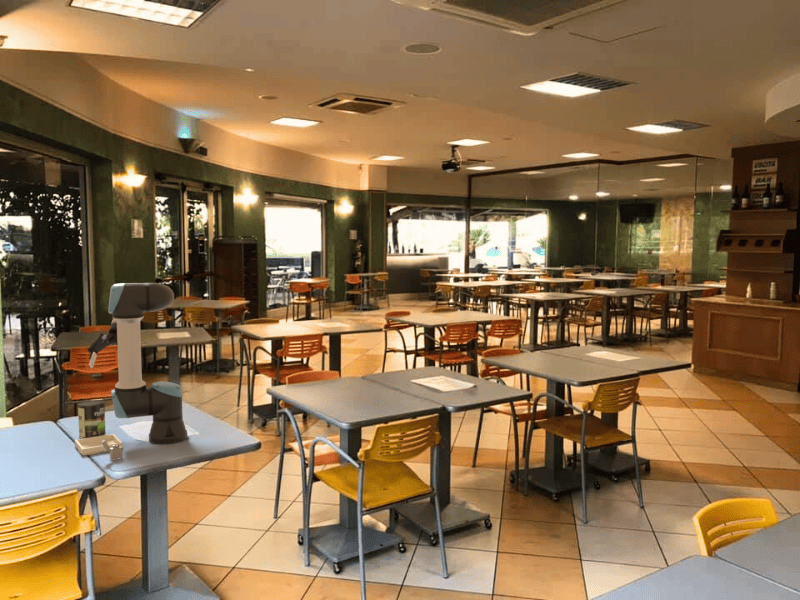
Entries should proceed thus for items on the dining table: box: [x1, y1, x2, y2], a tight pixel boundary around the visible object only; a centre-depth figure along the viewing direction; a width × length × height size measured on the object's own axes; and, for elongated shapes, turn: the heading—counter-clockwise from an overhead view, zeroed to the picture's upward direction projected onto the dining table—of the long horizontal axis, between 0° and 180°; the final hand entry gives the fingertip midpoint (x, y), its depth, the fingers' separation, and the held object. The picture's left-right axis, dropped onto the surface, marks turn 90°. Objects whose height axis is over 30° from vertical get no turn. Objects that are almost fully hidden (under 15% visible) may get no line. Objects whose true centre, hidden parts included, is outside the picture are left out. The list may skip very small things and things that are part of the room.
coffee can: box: [77, 399, 107, 439], centre depth 280 cm, size 10×10×14 cm
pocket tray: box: [74, 433, 124, 456], centre depth 264 cm, size 15×15×3 cm
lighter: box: [101, 440, 123, 461], centre depth 250 cm, size 7×2×8 cm, turn 129°
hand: (106, 366), depth 289 cm, fingers open, 13 cm apart
